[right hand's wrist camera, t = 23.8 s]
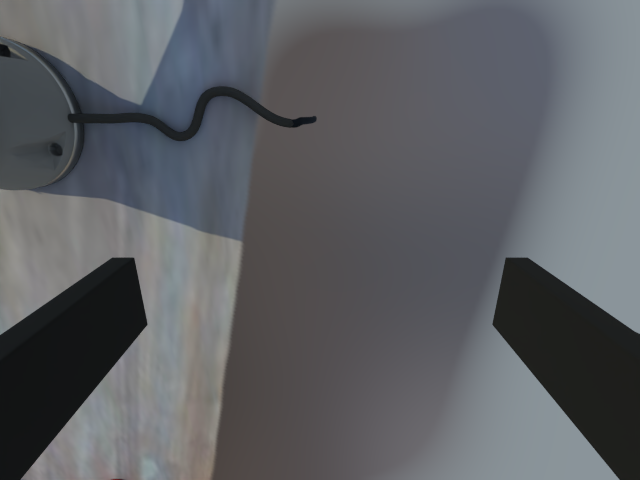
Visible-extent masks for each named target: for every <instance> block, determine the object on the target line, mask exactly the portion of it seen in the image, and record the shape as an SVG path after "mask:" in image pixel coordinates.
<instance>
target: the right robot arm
mask: <svg viewBox="0 0 640 480" xmlns="http://www.w3.org/2000/svg"><path fill="white" fill-rule="evenodd" d="M216 96H228V97H232V98H234V99H237V100H238V101H240V102H242V103H243V104H245V105H246V106H248V107H249V108H251V109H252V110H253V111H255V112H256V113H257V114H259V115H260V116H262V117H263V118H265V119H266V120H268V121H270V122H272V123H274V124H277V125H280V126H283V127H289V128H296V127H299V126H301V125H304V124H311V123H314V122H316V120H317V117H316V116H313V117H299V118H297V119H287V118H283V117H280V116H278V115H276V114H274V113H272V112H270V111H269V110H267V109H266V108H264V107H263V106H261V105H260V104H259V103H257V102H256V101H255V100H253V99H252V98H250V97H249V96H247V95H246V94H244V93H243V92H241V91H239V90H236V89H234V88H230V87H222V86H219V87H213V88H211V89H208V90H206V91H205V92H204V93H203V94H202V95H201V97H200V98H199V100H198V102H197V105H196V109H195V112H194V116H193V120H192V123H191V125H190V127H189V128H188V130H186V131H184V132H176V131H174V130H172V129H171V128H169V127H168V126H167V125H166V124H164V123H163V122H162V121H160V120H159V119H157V118H155V117H153V116H150V115H146V114H140V113H122V114H81V112H80V109H79V106H78V103H77V101H76V99H75V96H74V94H73V93H72V91H71V89H70V87H69V86H68V84H67V83H66V81H65V80H64V78H63V77H62V76H61V74H60V73H59V72H58V71H57V70H56V69H55V68H54V67H53V66H52V65H51V64H50V63H49V62H48V61H47V60H46V59H45V58H43V57H42V56H41V55H39V54H38V53H37V52H35V51H34V50H32V49H30V48H29V47H27V46H25V45H23V44H21V43H19V42H16V41H13V40H11V39H7V38H3V37H0V189H5V190H29V189H35V188H39V187H43V186H46V185H50V184H53V183H55V182H57V181H59V180H61V179H62V178H63V177H65V176H66V175H67V174H68V173H69V172H70V171H71V170H72V169H73V167H74V166H75V164H76V163H77V161H78V159H79V157H80V154H81V151H82V146H83V139H84V129H83V123H125V122H141V123H147V124H150V125H152V126H154V127H156V128H157V129H159V130H160V131H161V132H162V133H164V134H165V135H166V136H168V137H169V138H171V139H173V140H177V141H185V140H188V139H190V138H192V137H193V136H194V135H195V134H196V133H197V131H198V129H199V127H200V125H201V121H202V118H203V114H204V110H205V107H206V105H207V103H208V102H209V100H210V99H211V98H213V97H216ZM147 325H148V324H147V319H146V315H145V310H144V305H143V300H142V295H141V290H140V285H139V280H138V275H137V270H136V265H135V260H134V258H111V259H110V260H108V261H107V262H105V263H104V264H103V265H101V266H100V267H98V268H97V269H95V270H94V271H92V272H91V273H90V274H88V275H87V276H85V277H84V278H82V279H81V280H79V281H78V282H77V283H75V284H74V285H72V286H71V287H69V288H68V289H66V290H65V291H64V292H62V293H61V294H59V295H58V296H56V297H55V298H53V299H52V300H51V301H49V302H48V303H46V304H45V305H43V306H42V307H40V308H39V309H37V310H36V311H35V312H33V313H32V314H30V315H29V316H27V317H26V318H24V319H23V320H22V321H20V322H19V323H17V324H16V325H14V326H13V327H11V328H10V329H9V330H7V331H6V332H4V333H3V334H1V335H0V480H20V479H21V478H22V477H23V476H24V474H25V473H26V472H27V471H28V470H29V468H30V467H31V466H32V465H33V464H34V462H35V461H36V460H37V459H38V457H39V456H40V455H41V454H42V453H43V451H44V450H45V449H46V448H47V446H48V445H49V444H50V443H51V442H52V440H53V439H54V438H55V437H56V435H57V434H58V433H59V432H60V431H61V429H62V428H63V427H64V426H65V424H66V423H67V422H68V421H69V420H70V418H71V417H72V416H73V415H74V414H75V412H76V411H77V410H78V409H79V407H80V406H81V405H82V404H83V403H84V401H85V400H86V399H87V398H88V396H89V395H90V394H91V393H92V392H93V390H94V389H95V388H96V387H97V385H98V384H99V383H100V382H101V381H102V379H103V378H104V377H105V376H106V375H107V373H108V372H109V371H110V370H111V368H112V367H113V366H114V365H115V364H116V362H117V361H118V360H119V359H120V357H121V356H122V355H123V354H124V353H125V351H126V350H127V349H128V348H129V346H130V345H131V344H132V343H133V342H134V340H135V339H136V338H137V337H138V335H139V334H140V333H141V332H142V331H143V329H144V328H145V327H146V326H147ZM493 326H494V327H495V328H496V329H497V331H498V332H499V333H500V334H501V335H502V337H503V338H504V339H505V340H506V342H507V343H508V344H509V345H510V346H511V348H512V349H513V350H514V351H515V353H516V354H517V355H518V356H519V357H520V359H521V360H522V361H523V362H524V364H525V365H526V366H527V367H528V368H529V370H530V371H531V372H532V373H533V375H534V376H535V377H536V378H537V379H538V381H539V382H540V383H541V384H542V385H543V387H544V388H545V389H546V390H547V392H548V393H549V394H550V395H551V396H552V398H553V399H554V400H555V401H556V403H557V404H558V405H559V406H560V407H561V409H562V410H563V411H564V412H565V414H566V415H567V416H568V417H569V418H570V420H571V421H572V422H573V423H574V424H575V426H576V427H577V428H578V429H579V431H580V432H581V433H582V434H583V435H584V437H585V438H586V439H587V440H588V442H589V443H590V444H591V445H592V446H593V448H594V449H595V450H596V451H597V453H598V454H599V455H600V456H601V457H602V459H603V460H604V461H605V462H606V464H607V465H608V466H609V467H610V468H611V470H612V471H613V472H614V473H615V474H616V476H617V477H618V478H619V479H620V480H640V334H638V333H636V332H634V331H633V330H631V329H630V328H629V327H627V326H626V325H624V324H623V323H621V322H620V321H618V320H617V319H615V318H614V317H613V316H611V315H610V314H608V313H607V312H605V311H604V310H603V309H601V308H600V307H598V306H597V305H595V304H594V303H592V302H591V301H589V300H588V299H587V298H585V297H584V296H582V295H581V294H579V293H578V292H576V291H575V290H574V289H572V288H571V287H569V286H568V285H566V284H565V283H563V282H562V281H560V280H559V279H558V278H556V277H555V276H553V275H552V274H550V273H549V272H547V271H546V270H545V269H543V268H542V267H540V266H539V265H537V264H536V263H534V262H533V261H532V260H530V259H529V258H506V260H505V265H504V270H503V275H502V280H501V285H500V290H499V295H498V300H497V305H496V310H495V315H494V320H493Z"/></svg>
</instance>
